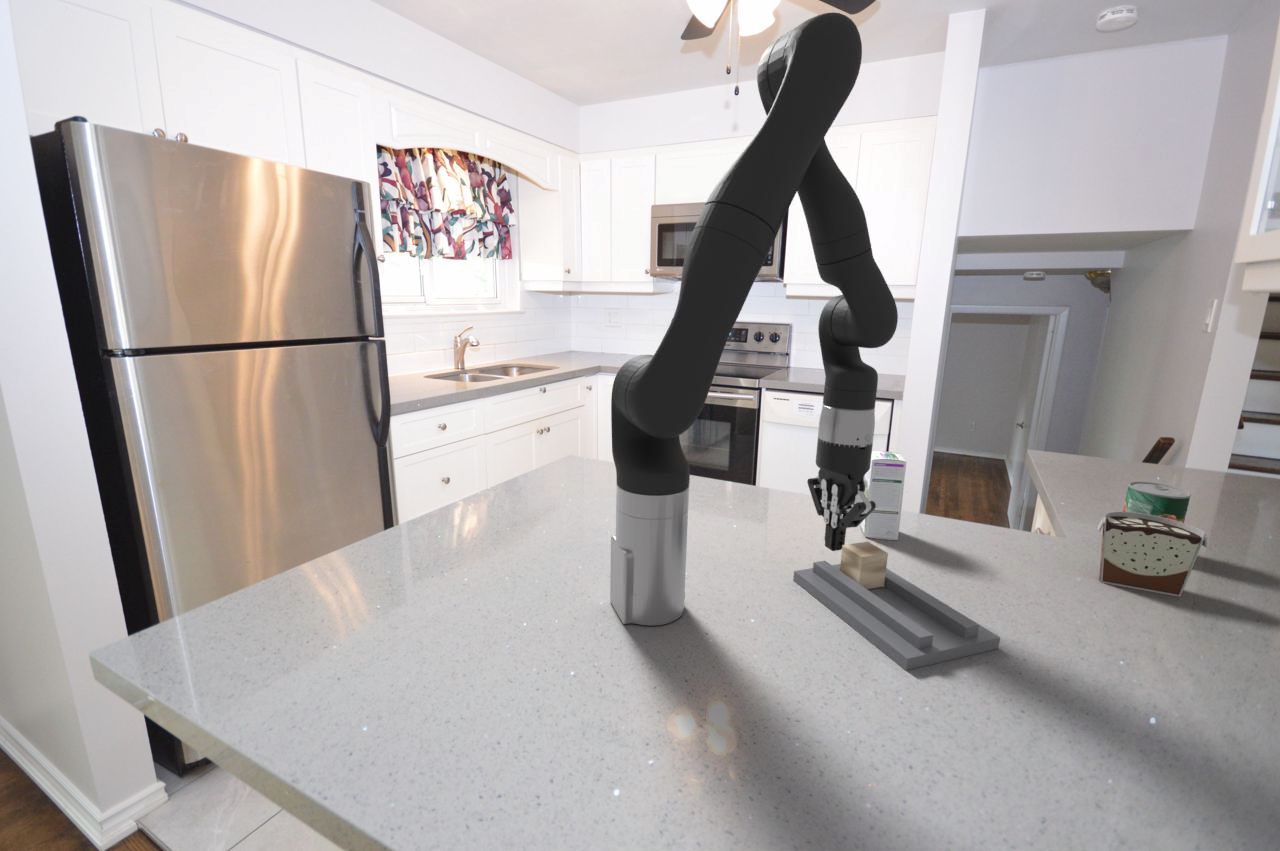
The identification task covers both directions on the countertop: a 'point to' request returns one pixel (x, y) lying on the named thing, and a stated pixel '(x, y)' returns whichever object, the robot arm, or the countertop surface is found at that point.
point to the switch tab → (864, 564)
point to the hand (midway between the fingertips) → (833, 548)
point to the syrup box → (884, 495)
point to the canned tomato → (1157, 500)
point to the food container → (1148, 552)
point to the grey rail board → (898, 617)
